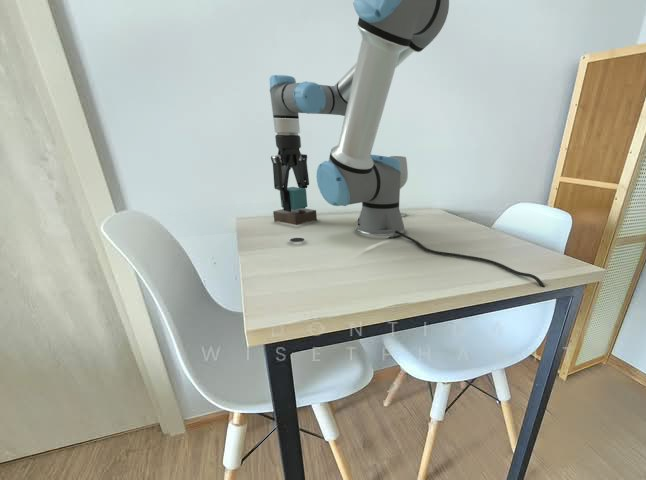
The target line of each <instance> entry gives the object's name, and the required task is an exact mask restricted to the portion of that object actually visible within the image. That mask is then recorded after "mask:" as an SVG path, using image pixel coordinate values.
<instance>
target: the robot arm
mask: <svg viewBox="0 0 646 480" xmlns="http://www.w3.org/2000/svg"><path fill="white" fill-rule="evenodd" d="M352 4H353V8H354V11H355V13H356V14H357V15H358V21H357V25H356V26H357V29H358V30H359V33H360V35H361V42H360V46H359V51H358V54H357V61H356V62H355V64H354V65H353V66H352V67H351V68H350V69H349V70H348V71H347V72H346V73H345V74H344V75H343V76H342V77H341V78H340V79H339V80H338V81H337V82H336V83H335V84H334V85H325V84H318V83H317V82H313V81H303V82H297V81H296V78H295V77H294V76H291V75H286V74H285V75H284V74H273V75H270V77H269V93H270V95H269V96H270V102H271V111H272V117H273V120H272V121H273V127H274V133H276V134H275V135H274V137H275V138H274V139H275V146H276V148H277V149H278V151H277V154H276V155H271V156H270V160H271V163H272V174H273V186H274V187H273V188H274V190H277V191H279V195H280V194H281V197H280V201H281V200H282V201H283V208H282V209H283V210H284V211H288V212H291V204H290V194H289V191H287V188H289V187H288V185H289V177H290V170H291V169H292V172H293V175H294V178H295V181H296V185H297V188H304V189H308V186H310V177H309V170H308V155H307V154H306V153H305V154H303V153H302V152H301V150H300V149H301V147H302V141H301V140H302V139H301V136H300V135H299V134H301V130H300V129H301V127H300V126H301V125H300V116H299V114H308V115H310V114H311V115H313V114H314V115H334V116H342V117H343V116H344V118H343V121H342V126H341V131H340V135H339V140H338V144H336V145H335V146H333V147H331V149H330V152H329V157H328V160H324V161H322V162H321V163H320V164H318V167H317V169H316V183H317V187H318V189H319V192H320V194H321V196H322V198H323V199H324V201H326V203H328V204H329V205H331V206H333V207H340V206H342V207H347V206H348V205H349V206H350V205H354V204H361V209H360V214H359V217H357V218H358V219H357V222H356V223H357V224H356V231H357V232H359V233H361V234H363V235H367V236H374V237H388V239H392V238H397V237H400V236H401V237H403V238H405V239H407V240H409V241H411V242H413V243H414V244H416V245H417V246H418V247H420V248H421V249H422V250H423V251H426V252H428V253H432V254H435V255H441V256H449V257H457V258H463V259H469V260H474V261H475V260H476V261H479V262H485V263H488V264H492V265H494V266H497V267H500V268H502V269H504V270H506V271H508V272H510V273H512V274H515V275H517V276H521V277H527V278H531V279H533V280H535V281H536V282H537V283H538V284H539V286H540V287H541V288H546V285H545V284H544V283H543V281H542V280H541V279H540V278H539V277H538V276H537V275H534V274H531V273H529V272H521V271H518V270H515V269H513V268H511V267H509V266H507V265H505V264H503V263H500V262H498V261H495V260H492V259H487V258H483V257H479V256H472V255H468V254H467V255H466V254H462V253H461V254H460V253H455V252H446V251H439V250H434V249H431V248H427V247H426V246H424V245H423V244H422V243H420V242H419V241H418V240H416V239H414V238H412V237H410V236H408V235H406V234H404V233H405V225H404V220H403V217H401V213H402V212H401V210H400V198H401V194H400V193H401V189H400V175H401V171H400V161H399V160H398V159H397V158H393V157H390V156H387V155H379V154H372V151H373V148H374V145H375V141H376V137H377V133H378V130H379V127H380V123H381V119H382V117H383V113H384V111H385V105H386V103H387V99H388V96H389V92H390V88H391V85H392V82H393V78H394V75H395V71H396V69H397V67H399V66H400V65H401V64H402V63H403V62H404V61H405V60H406V59H408V58H409V56H411V55H412V54H413V53H414V52H415V53H421V52H422V51H423V50H424V49H425V48H427V47H428V46H430V44H431V43H432V42H433V41H434V40H435V39H436V38H437V36H438V35H439V34H440V33H441V31H442V29H443V28H444V25H445V23H446V22H447V17H448V15H449V10H450V9H449V8H450V0H354V1H353V3H352ZM304 208H306V207H304Z"/></svg>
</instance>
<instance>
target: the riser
mask: <svg viewBox="0 0 646 480" xmlns="http://www.w3.org/2000/svg"><path fill="white" fill-rule="evenodd" d="M272 214H273V221H274V223H277V222H280V223H285V224H288V225H289V224H290V225H295V226H297V225H301V224H304V223H309V222H312V221H315V222H318V217H317V210H316V209H311V208H307V207H305V208H300V209H296V210H293V209H291V212H288V211H284V210H283V208H282V209H278V210H273V211H272Z"/></svg>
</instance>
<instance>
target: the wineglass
mask: <svg viewBox="0 0 646 480" xmlns="http://www.w3.org/2000/svg"><path fill="white" fill-rule="evenodd" d="M389 157H393V158H397V159H398V160H399V161H400V171H401V175H400V190H401V189H402V188H403V187H405V185H406V183H407V181H408V177H409V174H408V173H409V172H408V161H407V157H406V156H401V155H390V156H389ZM400 213H401V217H402V218H403V217H406V214H405V213H404V212H400Z"/></svg>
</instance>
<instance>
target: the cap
mask: <svg viewBox="0 0 646 480" xmlns="http://www.w3.org/2000/svg"><path fill="white" fill-rule="evenodd" d="M289 241H290V242H293V243H300V242H303V241H305V238H303V237H293V238H290V239H289Z"/></svg>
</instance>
